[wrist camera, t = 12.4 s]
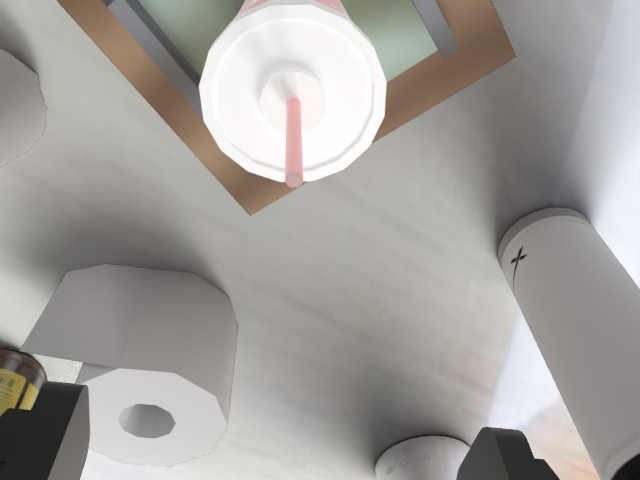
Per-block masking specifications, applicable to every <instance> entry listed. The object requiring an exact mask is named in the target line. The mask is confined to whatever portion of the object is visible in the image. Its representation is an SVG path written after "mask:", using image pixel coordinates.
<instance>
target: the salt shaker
mask: <svg viewBox="0 0 640 480" xmlns="http://www.w3.org/2000/svg"><path fill="white" fill-rule="evenodd" d="M46 112H47V107H46V104H45V101H44V98H43V95H42V92H41V90H40V86H39V78H38V75H37V74H36V73H35V72H34V71H32V70H31V69H30V68H29V67H27V66H26V65H25V64H24V63H22V62H21V61H20V60H18V59H17V58H16V57H15V56H13V55H12V54H11V53H10V52H8V51H7V50H5V49H0V168H1V167H3V166H4V165H6V164H7V163H9V162H11V161H12V160H14V159H15V158H17V157H19V156H20V155H22V154H23V153H25V152H27V151H28V150H29V149H30V148H31V147H32V146H33V145H34V144H35V143H36V142H37V140H38V139H39V138H40V137H41V136H42V135H43V132H44V130H45V121H46Z"/></svg>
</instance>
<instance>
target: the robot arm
mask: <svg viewBox="0 0 640 480" xmlns="http://www.w3.org/2000/svg"><path fill="white" fill-rule="evenodd" d="M89 440H90V415H89V390H88V386H87V385H81V384H71V383H61V382H51V381H46V382H45V383H44V384H43V385H42V387H41V389H40V391H39V393H38V395H37V397H36V399H35V402H34V404H33V406H32V408H31V410H27V409H16V408H8V409H7V410H6V411H5V412H4V413H3V414H2V415H1V416H0V480H80V477H81V474H82V471H83V467H84V464H85V461H86V457H87V452H88V447H89ZM375 473H376V480H560V479H559V478H558V476H557V475H556V474H555V473H554V471H553V470H552V469H551V468H550V466H549V465H548V464H547V463H546V461H545V460H544V459H534V456H533V454H532V451H531V449H530V446H529V443H528V441H527V439H526V437H525V435H524V434H523V433H522V432H521V431H519V430H512V429H502V428H492V427H484V428H482V429H481V431H480V432H479V434H478V435H477V437H476V439H475V441H474V442H473V444H472V446H471V448H470V447H469V446H468V445H466V444H465V443H463V442H462V441H459V440H457V439H454V438H449V437H444V436H423V437H417V438H412V439H409V440H406V441H403V442H400V443H398V444H396V445H394V446H392V447H391V448H389V449H388V450H387V451H385V452H384V453H383V454H382V455H381V457H380V458H379V459H378V461H377V463H376V468H375Z"/></svg>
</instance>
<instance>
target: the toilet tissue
mask: <svg viewBox="0 0 640 480" xmlns="http://www.w3.org/2000/svg"><path fill="white" fill-rule="evenodd" d="M237 333H238V324H237V320H236V317H235V314H234V311H233V308H232V305H231V302H230V298H229V296H228V295H227V294H225V293H224V292H222V291H221V290H219V289H218V288H216V287H215V286H213V285H212V284H210V283H209V282H207V281H206V280H204V279H203V278H201V277H200V276H198V275H197V274H196V273H188V272H179V271H170V270H160V269H151V268H141V267H132V266H122V265H113V264H102V265H97V266H93V267H88V268H83V269H78V270H73V271H68V272H67V273H66V274H65V276H64V278H63V279H62V281H61V283H60V284H59V286H58V288H57V289H56V291H55V293H54V294H53V296H52V298H51V299H50V301H49V303H48V304H47V306H46V308H45V309H44V311H43V313H42V314H41V316H40V318H39V319H38V321H37V323H36V324H35V326H34V328H33V329H32V331H31V333H30V334H29V336H28V338H27V339H26V341H25V343H24V344H23V346H22V348H21V349H20V351H21V352H27V353H33V354H38V355H44V356H50V357H56V358H62V359H68V360H73V361H79V362H83V364H82V367H81V369H80V372H79V375H78V377H77V380H76V382H75V384H81V385H87V386H88V390H89V415H90V440H89V447H88V448H89V449H91V450H94V451H96V452H98V453H100V454H102V455H105V456H107V457H109V458H111V459H113V460H116V461H118V462H120V463H122V464H132V465H148V466H165V467H171V466H174V465H177V464H180V463H183V462H186V461H189V460H192V459H195V458H198V457H201V456H204V455H207V454H210V452H211V451H212V449H213V448H214V446H215V445H216V444H217V442H218V441H219V439H220V438H221V436H222V435H223V433H224V432H225V431H226V429H227V428H228V420H229V410H230V401H231V391H232V381H233V372H234V362H235V352H236V343H237Z"/></svg>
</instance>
